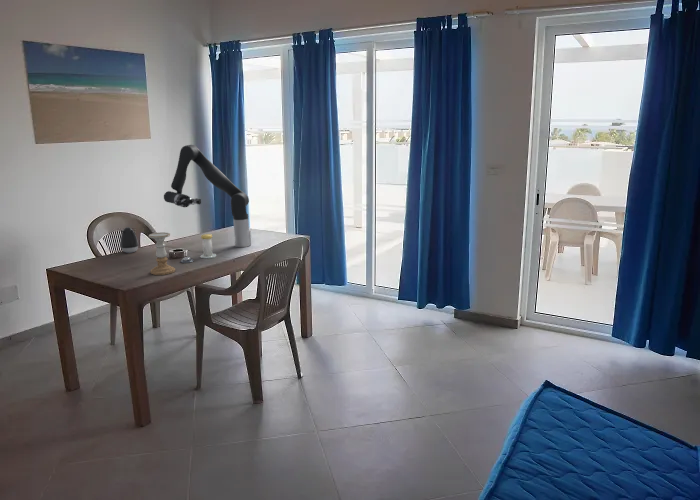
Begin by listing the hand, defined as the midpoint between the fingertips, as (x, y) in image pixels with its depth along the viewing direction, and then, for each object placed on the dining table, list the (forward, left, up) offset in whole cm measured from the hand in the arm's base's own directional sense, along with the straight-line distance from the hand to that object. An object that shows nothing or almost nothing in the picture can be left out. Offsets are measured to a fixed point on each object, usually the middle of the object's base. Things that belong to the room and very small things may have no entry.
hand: (192, 203), depth 310 cm
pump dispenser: (+30, -30, -30) cm, 52 cm away
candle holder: (+30, +28, -30) cm, 51 cm away
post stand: (+12, +15, -30) cm, 36 cm away
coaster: (-2, +12, -30) cm, 32 cm away
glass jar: (-2, +12, -29) cm, 32 cm away
